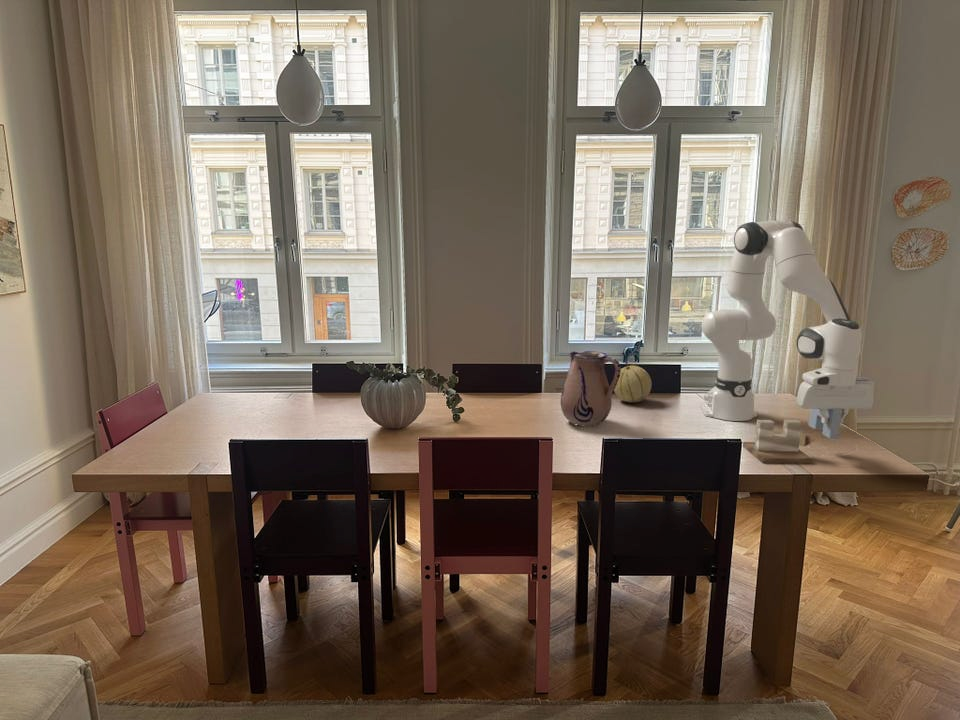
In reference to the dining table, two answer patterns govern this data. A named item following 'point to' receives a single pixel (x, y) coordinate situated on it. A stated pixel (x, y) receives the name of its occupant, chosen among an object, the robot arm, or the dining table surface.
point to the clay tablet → (802, 435)
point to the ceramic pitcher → (588, 388)
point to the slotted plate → (828, 428)
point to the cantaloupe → (633, 384)
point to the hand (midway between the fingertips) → (831, 422)
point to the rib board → (777, 455)
